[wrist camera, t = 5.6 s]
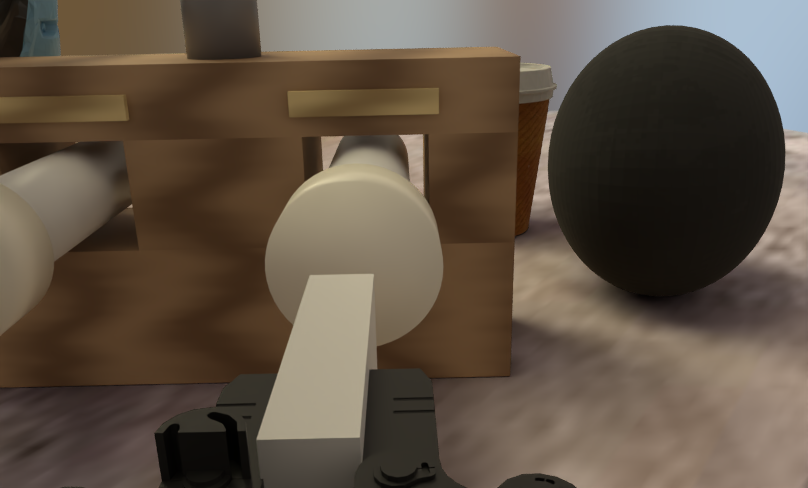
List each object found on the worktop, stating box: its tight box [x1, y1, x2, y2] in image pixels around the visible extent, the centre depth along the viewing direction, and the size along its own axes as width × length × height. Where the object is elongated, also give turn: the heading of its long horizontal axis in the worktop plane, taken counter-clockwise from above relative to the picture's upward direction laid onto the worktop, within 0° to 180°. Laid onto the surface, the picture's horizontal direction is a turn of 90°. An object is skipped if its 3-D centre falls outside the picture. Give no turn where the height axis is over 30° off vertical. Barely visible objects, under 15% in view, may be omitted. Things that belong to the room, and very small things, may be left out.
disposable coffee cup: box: [515, 63, 557, 236], centre depth 52 cm, size 10×10×12 cm
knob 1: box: [0, 141, 132, 336], centre depth 28 cm, size 5×15×5 cm, turn 1°
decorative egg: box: [548, 25, 785, 296], centre depth 39 cm, size 12×12×15 cm
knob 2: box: [265, 135, 443, 346], centre depth 28 cm, size 5×15×5 cm, turn 1°
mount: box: [0, 47, 520, 388], centre depth 33 cm, size 25×7×14 cm, turn 91°
